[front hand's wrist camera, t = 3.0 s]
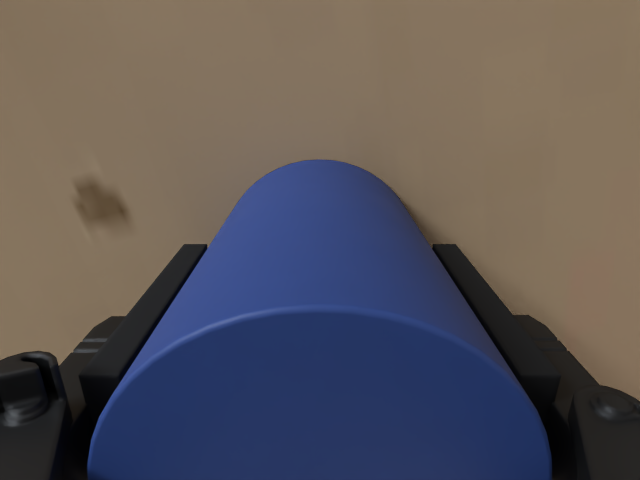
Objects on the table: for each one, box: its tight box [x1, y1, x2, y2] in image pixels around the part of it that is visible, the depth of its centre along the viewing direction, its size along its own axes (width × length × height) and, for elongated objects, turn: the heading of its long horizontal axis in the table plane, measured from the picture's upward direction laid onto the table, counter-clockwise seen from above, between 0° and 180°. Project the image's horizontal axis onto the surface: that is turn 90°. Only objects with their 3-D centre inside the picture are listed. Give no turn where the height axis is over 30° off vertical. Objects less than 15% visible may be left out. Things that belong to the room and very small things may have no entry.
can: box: [87, 160, 552, 480], centre depth 12 cm, size 8×8×10 cm
